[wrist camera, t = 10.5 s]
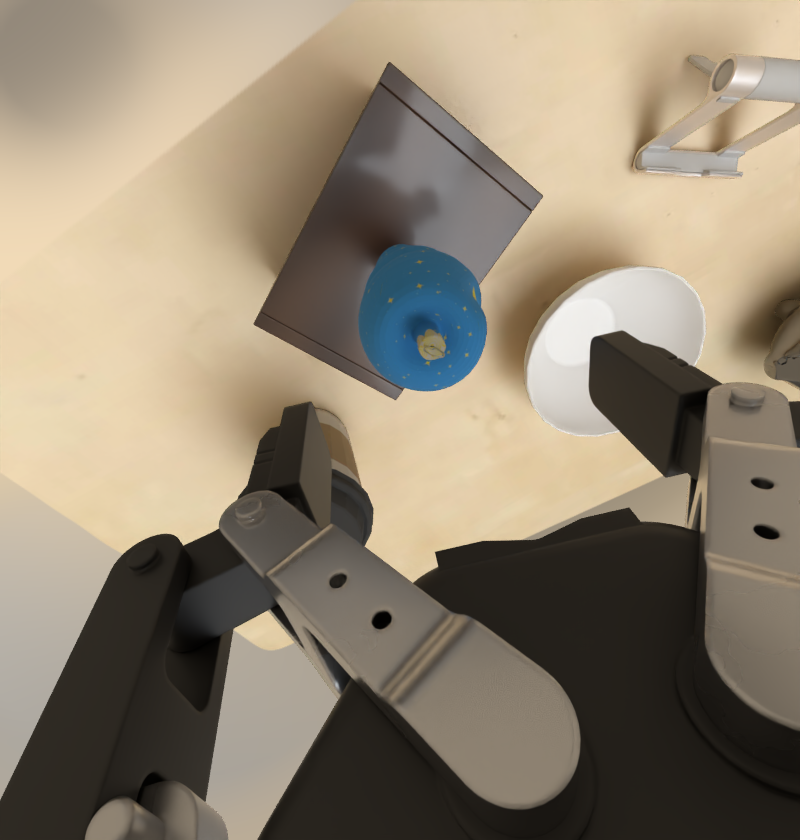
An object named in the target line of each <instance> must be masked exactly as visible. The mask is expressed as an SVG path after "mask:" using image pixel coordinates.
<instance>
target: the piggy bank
mask: <svg viewBox="0 0 800 840" xmlns="http://www.w3.org/2000/svg"><path fill="white" fill-rule="evenodd" d="M775 314H776V315H777V316H778V317H779V318H780V319H782V320H784V321H783V323H782V324H781V326H780V327H779V329H778V330H777V332H776V334H775V336H774V338H773V341H772V343H771V346H770V351H769V354H768V356H767V357H766V359H765V361H764V371H765V373H766V374H767V375H768V376H769V377H770V378H772V379H775V380H782V381H785V382H786V383H788V384H789V385H791V386H793V387H795V388H797V389H799V390H800V300H793V299H788V300H784V301H781V302H780V303H779V304H778V305H777V307H776V309H775Z"/></svg>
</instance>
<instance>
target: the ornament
mask: <svg viewBox="0 0 800 840" xmlns="http://www.w3.org/2000/svg"><path fill="white" fill-rule="evenodd" d="M358 327H359V335H360V340H361V343H362V346H363V349H364V351H365V353H366V355H367V357H368V359H369V360H370V362H371V364H372V365H373V366H374V367H375V369H376V370H377V371H378V372H379V373H380V374H381V375H383V376H384V377H385V378H386V379H388V380H389V381H391V382H393V383H394V384H397V385H399V386H401V387H404V388H408V389H411V390H417V391H436V390H441V389H444V388H447V387H450V386H452V385H454V384H456V383H457V382H459V381H460V380H462V379H463V378H464V377H466V376H467V375H468V374H469V373H470V372H471V371H472V369H473V368H474V367H475V365H476V364H477V362H478V360H479V358H480V356H481V354H482V351H483V348H484V345H485V340H486V335H487V322H486V317H485V315H484V312H483V310H482V308H481V292H480V288H479V284H478V282H477V280H476V278H475V276H474V274H473V273H472V272H471V271H470V270H469V269H468V268H467V267H466V266H465V265H463V264H462V263H461V262H460V261H458V260H457V259H456V258H454V257H452V256H450V255H448V254H446V253H443V252H440V251H437V250H436V249H434V248H430V247H427V246H418V245H413V246H412V245H405V244H398V245H394V246H392V247H390V248H388V249H387V250H385V251H384V252H383V253H382V254H381V256H380V257H379V259H378V261H377V263H376V266H375V268H374V270H373V271H372V273H371V274H370V276H369V279H368V281H367V283H366V287H365V291H364V295H363V298H362V301H361V305H360V310H359V317H358Z"/></svg>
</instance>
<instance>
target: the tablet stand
mask: <svg viewBox="0 0 800 840" xmlns="http://www.w3.org/2000/svg"><path fill="white" fill-rule="evenodd" d="M688 61H689V62H691V63H692V64H693V65H694V66H696V67H697V68H698V69H700V70H701V71H703V72H704V73H705V74H707V75H708V76H709V77H711V78H710V82H709V88H708V94H707V97H706V99H705V100H704V102H703V103H702V104H701V105H699V106H698V107H697V108H695V109H694V110H692V111H691V112H690V113H688V114H687V115H686V116H684V117H683V118H681V119H680V120H679V121H677V122H676V123H675V124H673V125H672V126H670V127H669V128H668V129H666V130H665V131H664V132H662V133H661V134H659V135H658V136H657V137H655V138H654V139H652V140H651V141H650V142H648V143H647V144H646V145H644V146H643V147H641V148H640V149H639V150H638V152H637V154H636V156H635V158H634V162H633V170H634V172H635V173H637V174H653V175H671V176H689V177H706V178H724V179H734V178H741V177H742V175H743V172H737V164H738V158H739V157H741V156H742V155H744V154H745V152H747V151H748V150H750V149H752V148H754V147H756V146H758V145H760V144H762V143H764V142H766V141H767V140H769V139H771V138H773V137H775V136H777V135H779V134H781V133H783V132H785V131H787V130H788V129H790V128H792V127H794V126H796V125H798V124H800V60H792V59H782V58H771V57H761V56H750V55H740V54H728V55H727V56H725V57H724V58H723V59H722V60H721V61H720V62H719V63H715V62H712V61H711V60H709V59H708V58H706V57H704V56H695V55H691V56H689V58H688ZM742 99H752V100H765V101H777V102H789V103H795V105H794V107H793V108H792V109H791V110H789V111H788V112H786V113H785V114H783V115H781V116H779V117H777V118H776V119H774V120H772V121H770V122H769V123H767V124H765V125H763V126H762V127H760V128H758V129H756V130H755V131H753V132H751V133H749V134H747V135H746V136H744V137H742V138H740V139H739V140H737V141H735V142H733V143H732V144H730V145H728V146H726V147H725V148H723V149H721V150H719V151H717V152H703V151H688V150H672V149H670V147H671V146H673V145H674V144H676V143H677V142H679V141H680V140H682V139H684V138H685V137H687V136H688V135H690V134H691V133H693V132H694V131H696V130H697V129H699V128H700V127H702V126H703V125H705V124H706V123H708V122H709V121H711V120H712V119H714V118H715V117H717V116H718V115H720V114H721V113H723V112H724V111H726V110H727V109H729V108H730V107H732V106H733V105H735V104H736V103H738V102H739V101H741V100H742Z"/></svg>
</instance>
